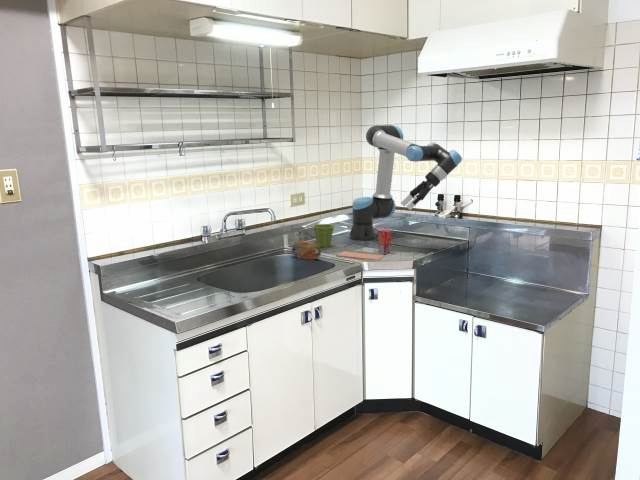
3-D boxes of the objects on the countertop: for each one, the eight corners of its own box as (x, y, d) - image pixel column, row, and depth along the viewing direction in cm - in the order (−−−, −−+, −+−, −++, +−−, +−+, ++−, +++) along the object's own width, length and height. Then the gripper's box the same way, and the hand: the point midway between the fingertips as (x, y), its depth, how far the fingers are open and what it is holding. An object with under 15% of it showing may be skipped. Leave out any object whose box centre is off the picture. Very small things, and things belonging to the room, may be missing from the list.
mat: (344, 252, 270) (344, 251, 270) (384, 256, 260) (384, 255, 260) (335, 256, 261) (335, 255, 261) (377, 260, 252) (377, 259, 252)
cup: (392, 250, 274) (392, 227, 271) (392, 254, 266) (393, 230, 263) (374, 250, 275) (374, 227, 272) (374, 253, 266) (374, 230, 264)
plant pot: (326, 249, 277) (326, 228, 275) (308, 246, 284) (308, 226, 282) (339, 245, 286) (339, 225, 284) (321, 243, 293) (321, 223, 291)
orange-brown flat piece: (292, 257, 259) (291, 240, 258) (295, 256, 262) (295, 239, 261) (319, 260, 253) (319, 243, 251) (322, 259, 255) (322, 242, 254)
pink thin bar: (347, 250, 273) (347, 250, 273) (387, 255, 264) (387, 254, 264) (345, 251, 271) (345, 251, 271) (385, 256, 262) (385, 255, 262)
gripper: (448, 183, 252) (416, 215, 254) (434, 179, 277) (405, 208, 279) (437, 172, 251) (405, 204, 253) (424, 169, 276) (395, 198, 278)
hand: (405, 206), depth 266 cm, fingers open, 13 cm apart
